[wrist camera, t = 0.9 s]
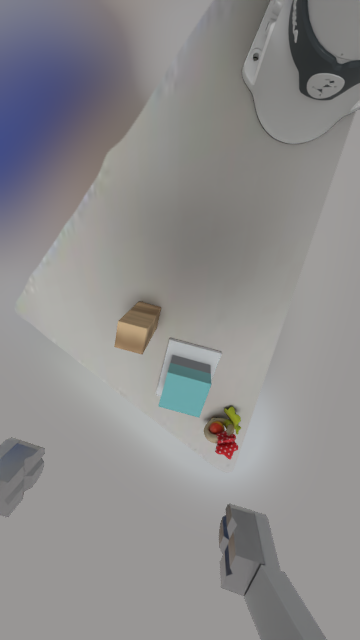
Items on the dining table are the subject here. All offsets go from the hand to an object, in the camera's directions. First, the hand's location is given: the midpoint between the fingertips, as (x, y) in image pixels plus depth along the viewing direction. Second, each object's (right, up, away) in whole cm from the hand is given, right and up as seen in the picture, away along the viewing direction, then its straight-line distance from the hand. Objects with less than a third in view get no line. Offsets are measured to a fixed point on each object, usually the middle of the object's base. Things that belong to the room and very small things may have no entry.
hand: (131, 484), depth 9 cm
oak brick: (-5, +8, +38) cm, 39 cm away
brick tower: (+4, -6, +42) cm, 43 cm away
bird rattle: (+13, -18, +46) cm, 51 cm away
